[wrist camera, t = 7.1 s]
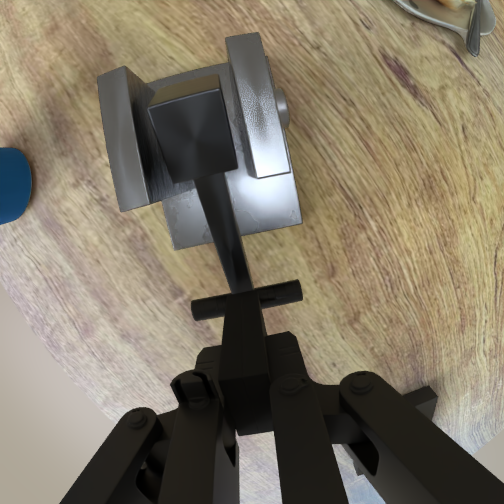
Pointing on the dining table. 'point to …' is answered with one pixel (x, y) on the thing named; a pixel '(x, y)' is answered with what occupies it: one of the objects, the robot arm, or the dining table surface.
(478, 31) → the avocado toast plate
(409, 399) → the button box
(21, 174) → the beverage can
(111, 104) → the metal lever stand
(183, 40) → the dining table surface
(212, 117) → the lever handle
